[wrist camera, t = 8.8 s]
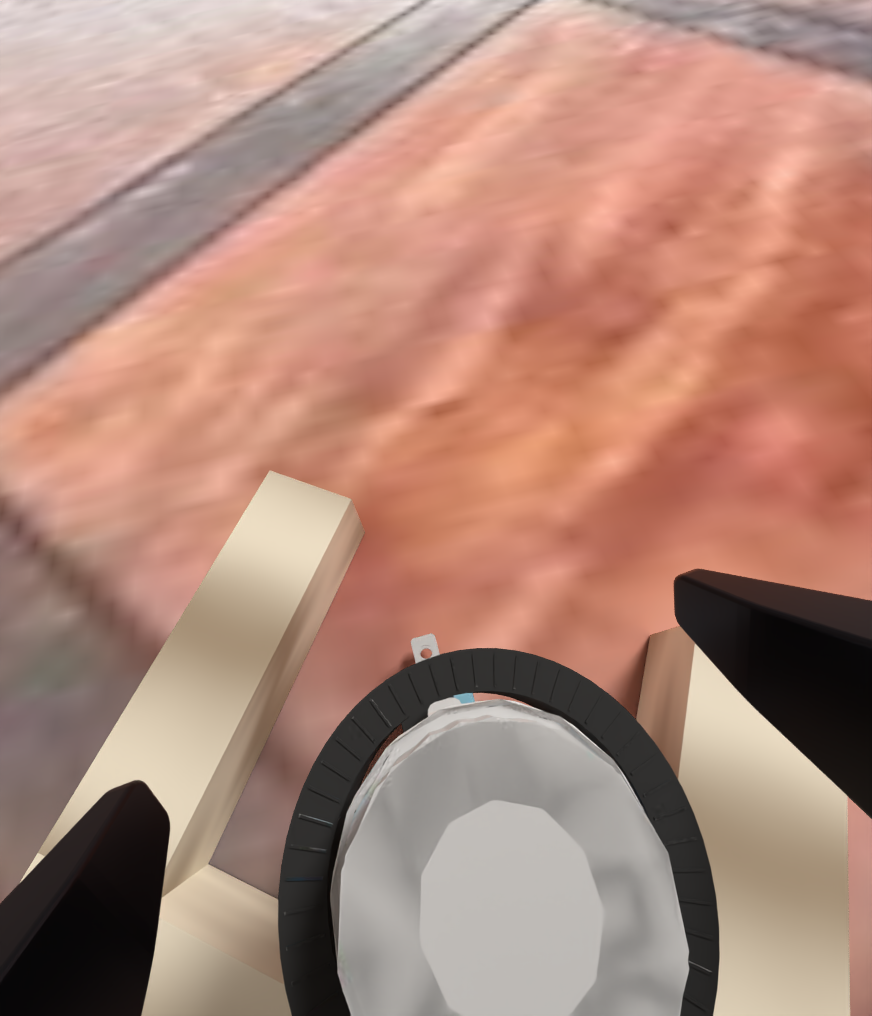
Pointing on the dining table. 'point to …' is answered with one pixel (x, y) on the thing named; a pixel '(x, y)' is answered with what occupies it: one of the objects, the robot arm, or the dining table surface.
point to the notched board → (262, 693)
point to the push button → (495, 855)
